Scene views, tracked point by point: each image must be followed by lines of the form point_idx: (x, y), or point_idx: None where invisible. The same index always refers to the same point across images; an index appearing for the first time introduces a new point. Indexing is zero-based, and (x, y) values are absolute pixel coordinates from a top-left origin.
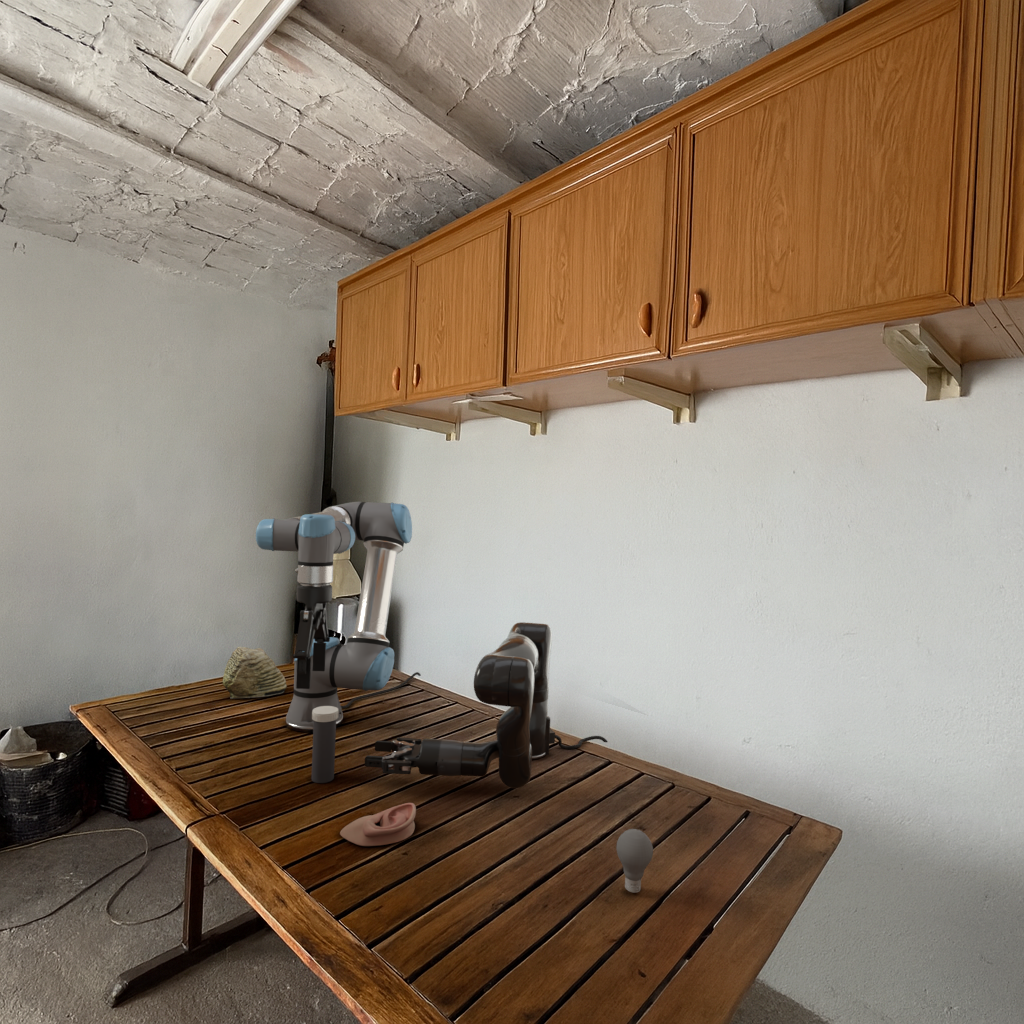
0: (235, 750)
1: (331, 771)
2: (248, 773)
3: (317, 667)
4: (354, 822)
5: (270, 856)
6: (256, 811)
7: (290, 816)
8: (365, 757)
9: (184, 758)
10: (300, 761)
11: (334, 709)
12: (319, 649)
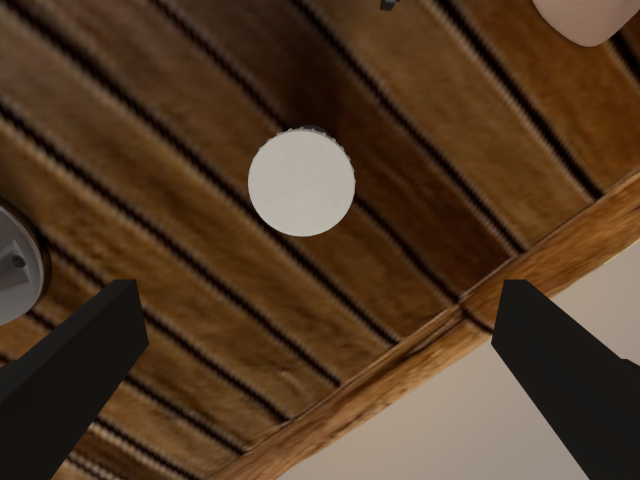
0: (187, 364)
1: (322, 129)
2: (293, 309)
3: (131, 332)
4: (587, 10)
5: (634, 171)
6: (457, 246)
7: (487, 176)
8: (394, 2)
9: (238, 426)
10: (221, 225)
11: (293, 148)
12: (36, 432)
